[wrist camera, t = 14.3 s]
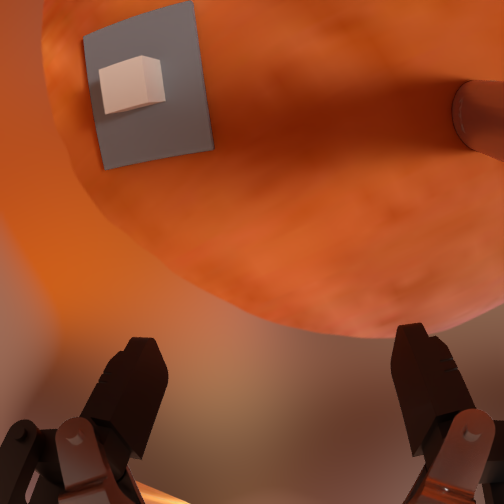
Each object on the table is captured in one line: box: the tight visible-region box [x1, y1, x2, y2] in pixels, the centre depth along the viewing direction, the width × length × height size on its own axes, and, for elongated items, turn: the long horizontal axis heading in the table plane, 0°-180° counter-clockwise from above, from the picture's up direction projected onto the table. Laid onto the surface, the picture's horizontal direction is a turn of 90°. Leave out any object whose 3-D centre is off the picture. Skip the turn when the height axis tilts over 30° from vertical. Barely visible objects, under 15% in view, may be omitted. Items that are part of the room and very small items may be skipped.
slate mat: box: [83, 0, 215, 170], centre depth 31 cm, size 14×18×1 cm
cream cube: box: [99, 55, 166, 114], centre depth 28 cm, size 5×5×5 cm
